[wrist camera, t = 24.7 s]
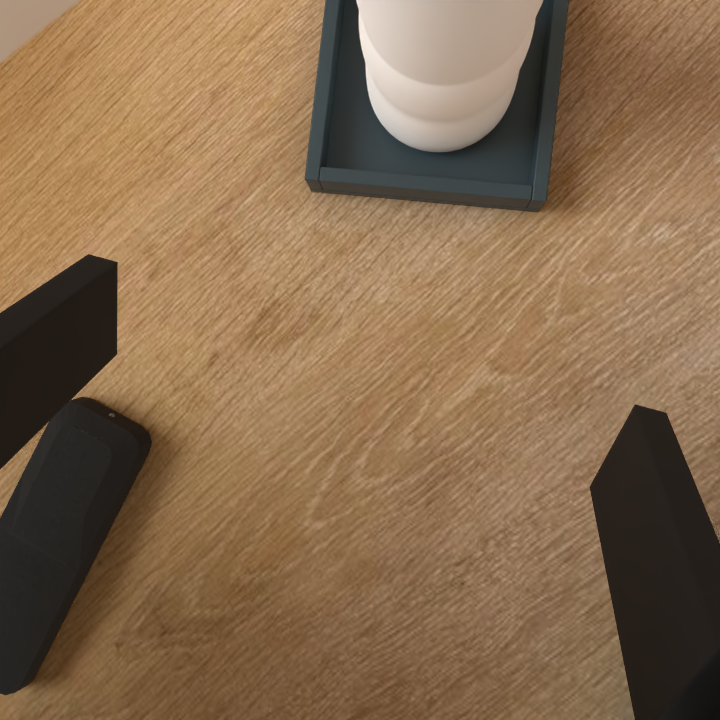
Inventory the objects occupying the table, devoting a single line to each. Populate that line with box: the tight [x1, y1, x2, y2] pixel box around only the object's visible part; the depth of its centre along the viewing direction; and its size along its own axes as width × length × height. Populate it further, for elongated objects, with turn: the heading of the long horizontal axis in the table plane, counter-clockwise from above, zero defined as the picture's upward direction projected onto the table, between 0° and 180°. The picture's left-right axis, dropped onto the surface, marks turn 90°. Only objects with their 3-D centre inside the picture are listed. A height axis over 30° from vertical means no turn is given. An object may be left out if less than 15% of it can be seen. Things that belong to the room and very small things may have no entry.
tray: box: [305, 0, 569, 212], centre depth 31 cm, size 11×11×2 cm
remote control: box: [0, 397, 152, 695], centre depth 32 cm, size 5×2×15 cm
